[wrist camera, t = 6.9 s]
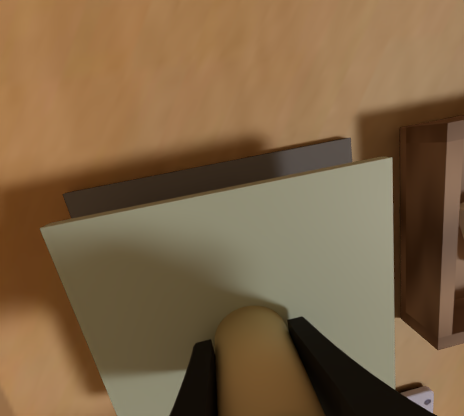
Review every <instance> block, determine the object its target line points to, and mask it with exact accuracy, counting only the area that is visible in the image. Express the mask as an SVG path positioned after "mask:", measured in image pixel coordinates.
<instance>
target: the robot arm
mask: <svg viewBox="0 0 464 416" xmlns="http://www.w3.org/2000/svg"><path fill="white" fill-rule="evenodd" d="M287 322H288V329H289V334H290V336H291V338H292V341H293V343H294V345H295V348H296V350H297V352H298V354H299V357H300V359H301V361H302V363H303V366H304V368H305V370H306V373H307V375H308V377H309V379H310V382H311V384H312V386H313V389H314V391H315V393H316V395H317V398H318V400H319V402H320V404H321V407H322V409H323V411H324V414H325V416H437V415H435V414H433V398H434V394H433V392H432V390H431V389H430V388H429V387H427V386H423V387H419V388H416V389H412V390H409V391H405V392H402V393H399V392H398V391H396V390H395V389H393V388H392V387H390V386H389V385H387V384H386V383H384V382H383V381H381V380H380V379H379V378H377V377H376V376H374V375H373V374H372V373H370V372H369V371H368V370H366V369H365V368H363V367H362V366H361V365H359V364H358V363H357V362H356V361H354V360H353V359H352V358H350V357H349V356H348V355H347V354H345V353H344V352H343V351H342V350H340V349H339V348H338V347H337V346H336V345H334V344H333V343H332V342H331V341H330V340H328V339H327V338H326V337H325V336H324V335H323V334H322V333H320V332H319V331H318V330H317V329H316V328H315V327H314V326H313V325H312V324H311V323H310V322H308V321H307V320H306V319H305V318H304V317H302V316H301V317H297V318H293V319H289V320H287ZM169 416H218V411H217V386H216V362H215V352H214V348H213V344H212V340H211V339H209V340H205V341H201V342H197V343H195V345H194V346H193V350H192V354H191V357H190V361H189V364H188V367H187V370H186V373H185V376H184V379H183V382H182V384H181V387H180V390H179V393H178V395H177V398H176V401H175V403H174V406H173V408H172V410H171V413H170V415H169Z"/></svg>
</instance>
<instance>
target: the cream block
mask: <svg viewBox="0 0 464 416" xmlns="http://www.w3.org/2000/svg"><path fill="white" fill-rule="evenodd" d="M459 225H460V228H461V231H462V235H463V238H464V202H463V203H461V204H460V209H459Z"/></svg>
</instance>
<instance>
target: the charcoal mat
mask: <svg viewBox="0 0 464 416" xmlns="http://www.w3.org/2000/svg"><path fill="white" fill-rule="evenodd" d="M351 162H352V152H351V138H344V139H339V140H334V141H329V142H324V143H319V144H314V145H308V146H303V147H298V148H293V149H288V150H283V151H278V152H273V153H268V154H262V155H257V156H252V157H247V158H242V159H237V160H232V161H227V162H222V163H216V164H211V165H206V166H201V167H196V168H191V169H186V170H181V171H176V172H170V173H165V174H160V175H155V176H150V177H145V178H140V179H135V180H130V181H124V182H119V183H114V184H109V185H104V186H99V187H94V188H89V189H84V190H78V191H73V192H68V193H65V194H63V197H64V200H65V202H66V205H67V208H68V210H69V213H70V216H71V218H77V217H82V216H87V215H92V214H97V213H102V212H107V211H112V210H117V209H122V208H127V207H132V206H137V205H142V204H147V203H152V202H157V201H162V200H167V199H172V198H177V197H182V196H187V195H192V194H197V193H202V192H207V191H212V190H217V189H222V188H227V187H232V186H237V185H242V184H247V183H252V182H257V181H262V180H267V179H272V178H277V177H282V176H287V175H291V174H296V173H301V172H306V171H311V170H316V169H321V168H326V167H331V166H336V165H341V164H346V163H351Z"/></svg>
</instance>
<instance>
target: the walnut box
mask: <svg viewBox="0 0 464 416" xmlns="http://www.w3.org/2000/svg"><path fill="white" fill-rule="evenodd" d="M463 202H464V115H462V116H457V117H452V118H447V119H441V120H436V121H431V122H426V123H421V124H416V125H411V126H406V127H401V128H400V239H401V319H402V320H403V321H404V322H405V323H407V324H408V325H409V326H410V327H411V328H413V329H414V330H415V331H416V332H417V333H418V334H420V335H421V336H422V337H423V338H424V339H425V340H427V341H428V342H429V343H430V344H431V345H432V346H434V347H435V348H436V349H437V350H441V349H444V348H448V347H451V346H455V345H459V344H462V343H464V238H463V235H462V231H461V228H460V225H459V209H460V204H461V203H463Z"/></svg>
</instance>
